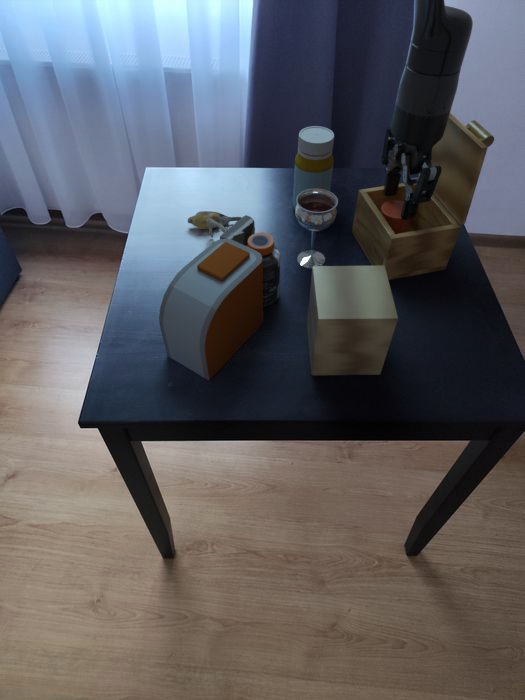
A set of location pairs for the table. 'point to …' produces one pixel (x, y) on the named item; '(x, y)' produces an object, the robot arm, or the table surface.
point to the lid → (460, 164)
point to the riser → (349, 320)
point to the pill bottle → (267, 265)
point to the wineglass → (315, 220)
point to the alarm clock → (213, 306)
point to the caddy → (404, 234)
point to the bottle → (313, 160)
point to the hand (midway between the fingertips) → (398, 205)
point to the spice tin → (395, 216)
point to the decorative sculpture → (215, 219)
